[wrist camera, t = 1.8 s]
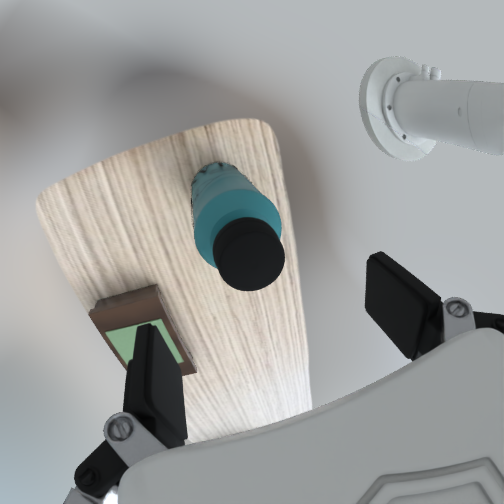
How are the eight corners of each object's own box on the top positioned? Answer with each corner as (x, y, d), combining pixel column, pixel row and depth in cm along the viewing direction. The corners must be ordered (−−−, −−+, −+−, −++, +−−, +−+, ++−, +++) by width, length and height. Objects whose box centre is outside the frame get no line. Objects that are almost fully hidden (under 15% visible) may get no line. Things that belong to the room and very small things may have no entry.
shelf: (94, 300, 35) (87, 315, 32) (159, 281, 36) (157, 296, 33) (138, 369, 43) (137, 385, 39) (195, 357, 44) (197, 373, 41)
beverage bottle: (238, 154, 32) (303, 192, 14) (247, 205, 35) (312, 294, 17) (184, 166, 31) (178, 222, 13) (197, 218, 34) (211, 323, 16)
